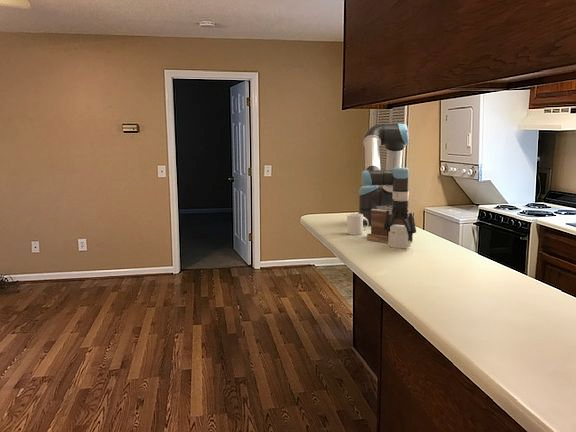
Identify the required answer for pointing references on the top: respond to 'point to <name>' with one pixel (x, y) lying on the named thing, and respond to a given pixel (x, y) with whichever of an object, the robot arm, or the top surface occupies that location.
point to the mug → (355, 224)
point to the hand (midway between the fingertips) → (399, 245)
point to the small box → (398, 236)
